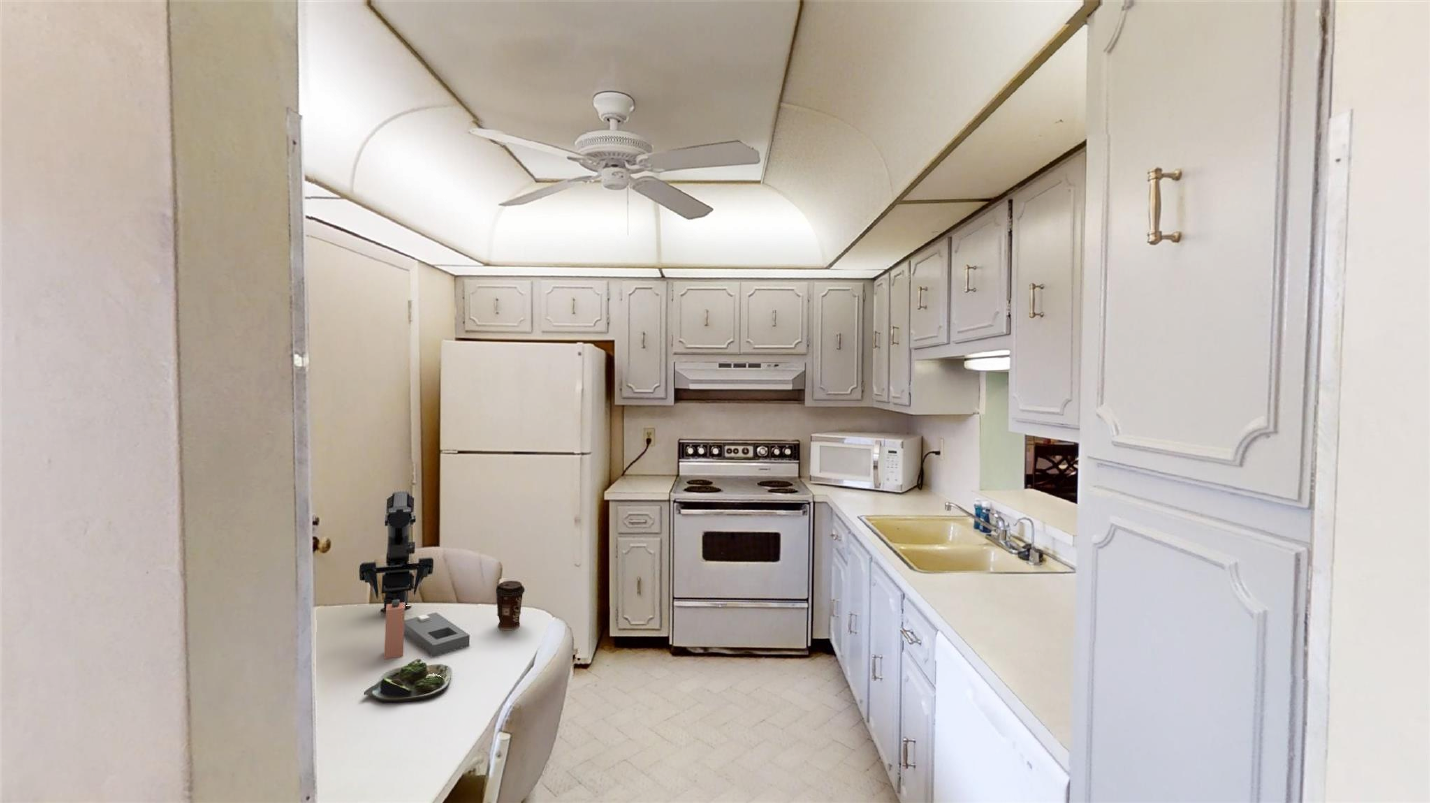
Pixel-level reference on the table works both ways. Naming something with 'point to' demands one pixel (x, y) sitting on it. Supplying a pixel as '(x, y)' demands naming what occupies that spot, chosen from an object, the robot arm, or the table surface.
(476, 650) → the table surface
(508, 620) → the coffee cup
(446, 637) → the grey slotted holder
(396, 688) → the salad plate
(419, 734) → the table surface
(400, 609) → the pink capped bottle
